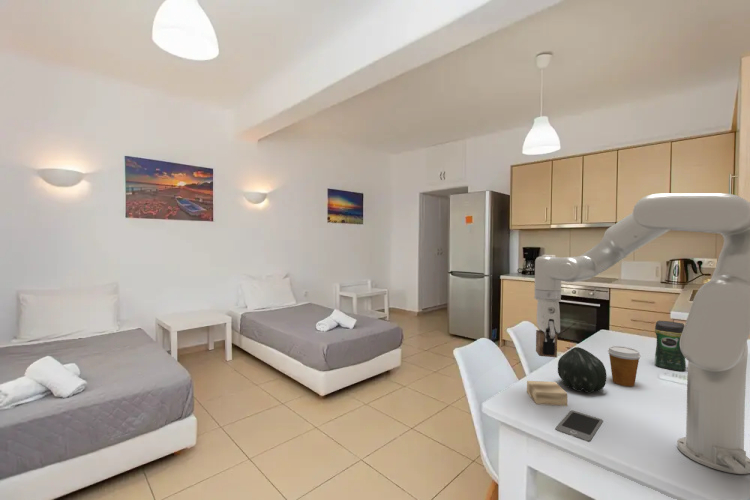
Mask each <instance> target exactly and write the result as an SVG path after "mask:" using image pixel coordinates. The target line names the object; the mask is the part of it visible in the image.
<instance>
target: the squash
mask: <svg viewBox="0 0 750 500" xmlns="http://www.w3.org/2000/svg"><path fill="white" fill-rule="evenodd" d="M557 373H558V376H559V377H560V380H561V381H562V383H563V384H564V386H566V387H567V388H570V389H574V391H578V392H580V391H584V392H586V393H592V392H600V391H601V390H603V389H604V387H606V383H607V370H606V367H605V365H604V363H603V361H601V359H600V358H598V357H597V356H596V355H594V354H593V353H592V352H590V351H588V350H586V349H584V348H582V347H579V346H576V347H572V348H571V349H570V350H568V351H566V352H565V353H564V354H563V355H561V356H560V358H559V359H558V361H557Z"/></svg>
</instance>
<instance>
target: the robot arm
mask: <svg viewBox="0 0 750 500" xmlns="http://www.w3.org/2000/svg"><path fill="white" fill-rule="evenodd" d="M669 231H676V232H677V231H678V232H691V233H692V232H696V233H707V234H719V235H721V236H722V238H723V245H722V248H721V251H720V253H719V255H718V259H717V262H716V265H715V268H714V270H713V273H712V275H711V278H710V279H709V281H707V282H705V283H704V284H702V285H701V286H700V287H699V289H698V290H697V292H696V294H695V296H694V298H693V301H692V303H691V307H690V309H689V312H688V314H687V318H686V321H685V323H684V329H683V332H682V335H681V338H680V349H681V352H682V354H683V356H684V357H685V360H687V376H686V377H687V378H686V379H687V381H686V383H687V385H686V417H685V418H686V419H685V420H686V423H685V424H686V426H685V428H686V429H685V437H681V438H679V439H677V443H676V444H677V445H676V446H677V448H678V450H679V451H680V452H681V453H682V454H683V455H685V457H688V458H689V459H691V460H693V461H694V462H696V463H699V464H701V465H703V466H706V467H709V468H711V469H713V470H716V471H717V470H718V471H720V472H725V473H729V474H735V475H736V474H737V475H747V474H748V475H749V474H750V457H749V456H748V455H747V452H746V450H745V416H746V415H745V414H746V413H745V411H746V409H745V408H746V407H745V406H746V382H747V381H746V380H747V366H748V365H747V364H748V354H749V353H748V352H749V350H748V339H749V337H750V201H748V200H746V199H745V198H743V197H741V196H740V195H736V194H732V193H727V192H725V193H723V192H720V193H718V192H716V193H715V192H714V193H712V192H709V193H708V192H707V193H706V192H705V193H703V192H702V193H693V192H692V193H690V192H689V193H653V194H652V193H651V194H647V195H645V196H643V197H641V198H640V199H639V200H638V201H637V202H636V204H634V206H633V209H632V213H630V214H628V215H626V216H625V217H624V218H622V219H621V220H619V221H617V222H616V223H614V224H613V225H611V226H610V227H608V228H607V229H606V230H605V231H604V234H603V237H602V239H601V241H599V242H598V243H597V244H596V245H595V246H593V247H592V248H590V249H589V250H587V251H586V252H584V253H582V254H581V255H579V256H567V257H565V256H563V257H558V256H541V255H540V256H537V257H536V259H535V261H534V298H533V299H534V300H536V302H537V303H536V326H537V327H538V328H539V329H538V330H542V331H543V332H544V341H543V354H544V355H554V354H555V333H556V334H560V333H561V312H560V303H559V302H561V300H562V299H561V298H562V282H567V283H577V282H583V281H587V280H590V279H593V278H595V277H596V276H598V275H599V274H601V273H603V272H604V271H606V270H608V269H609V268H612V267H613V266H615V265H616V264H617V263H619V262H621V261H622V260H624V259H625V258H626V257H628V256H629V255H630V254H632V253H634V252H635V251H637V250H639V249H641V248H642V247H644V246H645V245H647V244H649V243H650V242H652V241H654V240H655V239H657V238H659V237H660V236H663V235H664V234H666V233H668V232H669ZM546 331H549V332H546ZM547 334H549V335H548V336H547Z"/></svg>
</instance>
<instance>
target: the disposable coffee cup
mask: <svg viewBox="0 0 750 500" xmlns="http://www.w3.org/2000/svg"><path fill="white" fill-rule="evenodd" d="M607 353H608V354H609V361H610V363H609V364H610V371H611V378H612V379H611V380H612V382H613V383H614V384H617V385H618V386H623V387H630V388H631V387H634V386H635V383H636V378H637V373H638V367H639V362H640V361H639V360H640V358H641V354H640V351H639V350H637V349H635V348H631V347H626V346H618V345H612V346H609V347H608V350H607Z"/></svg>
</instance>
